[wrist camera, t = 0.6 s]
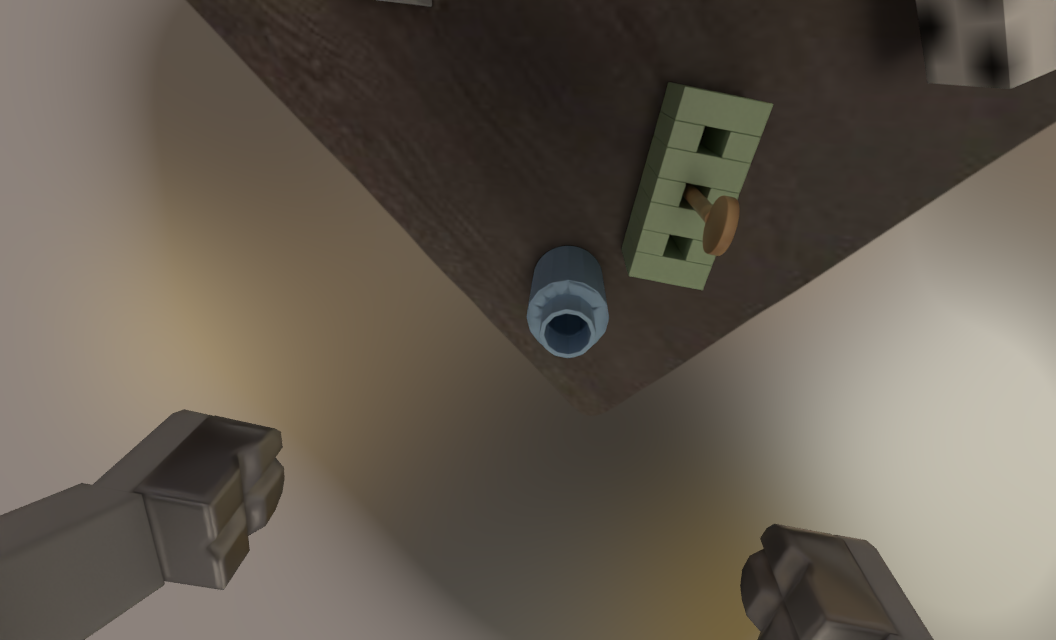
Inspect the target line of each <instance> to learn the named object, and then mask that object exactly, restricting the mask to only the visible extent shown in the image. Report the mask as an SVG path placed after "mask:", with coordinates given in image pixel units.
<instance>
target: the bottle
mask: <svg viewBox="0 0 1056 640" xmlns="http://www.w3.org/2000/svg"><path fill="white" fill-rule="evenodd" d="M608 320H609V315H608V308H607V302H606V295H605V289H604V283H603V276H602V270H601V267H600V265H599V263H598V261H597V260H596V259H595V257H594V256H593V255H592V254H590V253H589V252H588V251H586V250H584V249H582V248H579V247H575V246H561V247H557V248H554V249H552V250H550V251H548V252H547V253H546V254H544V255H543V256H542V257H541V259H540V260H539V261H538V263H537V265H536V267H535V270H534V275H533V280H532V286H531V293H530V299H529V305H528V311H527V321H528V325H529V329H530V331H531V333H532V334H533V335H534V337H535V338H536V339H537V340H538V342H539V343H541V344H543V346H544V348H546V349H547V350H548V351H550V352H551V353H552V354H553V355H555V356H560V357H565V358H572V357H575V356H579V355H582V354H584V353H585V352H586V351H587V350H588V349H589V348H590V347H591V346H592V345H593V344H595V343H596V342H597V341H598V340H599V339H600V337H601V336H602V335H603V334H604V333H605V330H606V327H607V323H608Z"/></svg>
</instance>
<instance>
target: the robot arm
mask: <svg viewBox="0 0 1056 640" xmlns="http://www.w3.org/2000/svg"><path fill="white" fill-rule="evenodd" d="M282 447H283V446H282V438H281V432H280V431H278V430H277V429H275V428H270V427H265V426H261V425H256V424H252V423H247V422H242V421H238V420H233V419H229V418H224V417H219V416H212V415H207V414H202V413H198V412H193V411H189V410H181V411H178V412H176V413H173V414H172V415H170V416H169V417H168V418H167V419H166V420H165V421H164V422H162V423H161V424H160V425H159V426H158V427H157V428H156V429H155V430H154V431H152V432H151V433H150V434H149V435H148V436H147V437H146V438H145V439H143V440H142V441H141V442H140V443H139V444H138V445H137V446H136V447H134V448H133V449H132V450H131V451H130V452H129V453H128V454H127V455H125V456H124V457H123V458H122V459H121V460H120V461H119V462H118V463H116V464H115V466H113V467H112V468H111V469H110V470H109V471H107V472H106V473H105V474H104V475H103V476H102V477H101V478H100V479H99V480H98V481H96V482H95V483H94V484H93V485H90V484H83V483H81V484H78V485H76V486H73V487H71V488H68V489H66V490H63V491H61V492H59V493H56V494H53V495H51V496H48V497H46V498H43V499H41V500H38V501H36V502H33V503H31V504H28V505H26V506H23V507H20V508H18V509H15V510H13V511H10V512H8V513H5V514H3V515H0V640H85V639H86V638H87V637H89V636H91V635H92V634H93V633H95V632H96V631H98V630H99V629H101V628H102V627H104V626H105V625H107V624H108V623H110V622H111V621H112V620H114V619H115V618H117V617H118V616H120V615H121V614H123V613H124V612H126V611H127V610H128V609H130V608H131V607H133V606H134V605H136V604H137V603H139V602H140V601H142V600H143V599H145V598H146V597H147V596H149V595H150V594H152V593H153V592H155V591H156V590H158V589H159V588H161V587H162V586H163V585H164V581H168V582H174V583H180V584H187V585H194V586H201V587H207V588H214V589H220V590H224V589H225V587H226V586H227V584H228V583H229V581H230V580H231V578H232V577H233V575H234V574H235V572H236V570H237V569H238V567H239V566H240V564H241V562H242V561H243V560H244V558H245V557H246V555H247V554H248V552H249V550H250V549H249V541H248V536H249V535H251V534H252V533H254V532H256V531H257V530H259V529H261V528H263V527H264V526H266V524H267V523H268V521H269V519H270V517H271V516H272V514H273V513H274V511H275V509H276V507H277V504H278V501H279V499H280V497H281V494H282V490H283V484H284V467H283V466H282V465H281V463H280V462H279V461H278V460H277V459H276V456H277V454H278V453H279V452H280V450H281V448H282ZM761 542H762V545H763V547H764V549H763V550H760V551H758V552H756V553H754V554H752V555H750V556H749V558H748V560H747V562H746V563H745V565H744V567H743V569H742V577H741V585H740V586H741V596H742V602H743V605H744V608H745V612H746V615H747V617H748V618H749V619H750V620H751V621H752V622H753V623H754V625H755V626H756V627H757V628H758V629H759V630H760V631H761V632H760V635H759V637H758V640H934V639H933V638H932V636H931V635H930V633H929V632H928V630H927V628H926V627H925V625H924V624H923V622H922V621H921V619H920V617H919V616H918V614H917V613H916V611H915V609H914V608H913V606H912V605H911V603H910V602H909V600H908V598H907V597H906V595H905V594H904V592H903V591H902V589H901V587H900V586H899V584H898V583H897V581H896V579H895V578H894V576H893V575H892V573H891V572H890V570H889V568H888V567H887V565H886V564H885V562H884V560H883V559H882V557H881V556H880V554H879V552H878V551H877V549H876V548H875V547H874V546H872V545H871V544H870V543H869V542H868V541H866V540H861V539H856V538H850V537H845V536H839V535H832V534H828V533H822V532H817V531H812V530H806V529H801V528H795V527H790V526H784V525H779V524H773V525H771V526H770V527H768V528H767V529H766V530H765V532H764V533H763V535H762V536H761Z"/></svg>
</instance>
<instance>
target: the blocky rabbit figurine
mask: <svg viewBox="0 0 1056 640" xmlns="http://www.w3.org/2000/svg"><path fill="white" fill-rule="evenodd" d="M916 6H917V13H918V20H919V27H920V34H921V41H922V48H923V55H924V61H925V68H926V75H927V82H928V83H936V84H950V85H963V86H977V87H991V88H1004V89H1011V88H1014V87H1016V86H1018V85H1021V84H1023V83H1025V82H1028V81H1030V80H1032V79H1034V78H1037V77H1039V76H1041V75H1044V74H1046V73H1048V72H1051V71H1053V70H1055V69H1056V0H916Z"/></svg>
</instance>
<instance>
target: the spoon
mask: <svg viewBox="0 0 1056 640" xmlns="http://www.w3.org/2000/svg"><path fill="white" fill-rule="evenodd" d="M683 196H684V198H685V199H686V200H687V201H688V203H689V204H690V205H691V206H692V207H693V209H694V210H695V211H696V212H697V214H698V215H699V216H700V217H701V218H702V220H703V221H704V222H705V227H704V231H703V249H704V252H705V253H707V254H710V255H715V256H720V255H722V254H723V253H724V252H725V251H726V250H727V248H728V247H729V245H730V244H731V241H732V239H733V237H734V234H735V232H736V228H737V224H738V219H739V203H738V201H737V199H736V198H734V197H730V196H725V195H723V196H720V197H719V198H718V199H717V200H716V201H715V202H714V204H713V205H712V204H711V202H710V201H709V200H708V199H707V198H706V197H705V196H704V195H703V194H702V193H701V192H700V191H699V190H698V189H697V188H696V187H695V186H694V185H693V184H690V183H686V186H685V189H684V192H683Z"/></svg>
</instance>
